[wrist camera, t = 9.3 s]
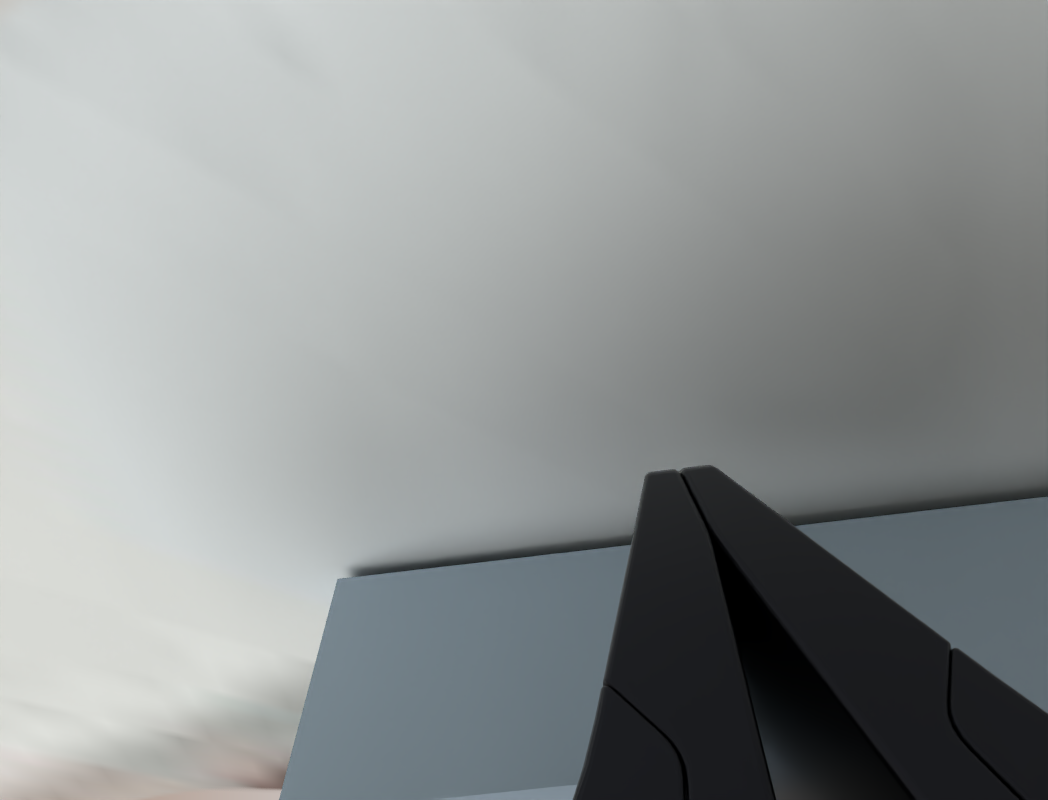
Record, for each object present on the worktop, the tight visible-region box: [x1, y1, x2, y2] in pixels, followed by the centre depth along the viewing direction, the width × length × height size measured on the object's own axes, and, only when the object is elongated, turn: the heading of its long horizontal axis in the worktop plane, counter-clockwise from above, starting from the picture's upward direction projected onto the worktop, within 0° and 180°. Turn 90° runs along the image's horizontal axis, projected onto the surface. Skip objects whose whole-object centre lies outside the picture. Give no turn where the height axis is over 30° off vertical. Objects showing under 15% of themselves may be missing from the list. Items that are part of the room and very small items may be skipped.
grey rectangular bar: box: [279, 496, 1048, 800], centre depth 12 cm, size 15×2×4 cm, turn 97°
